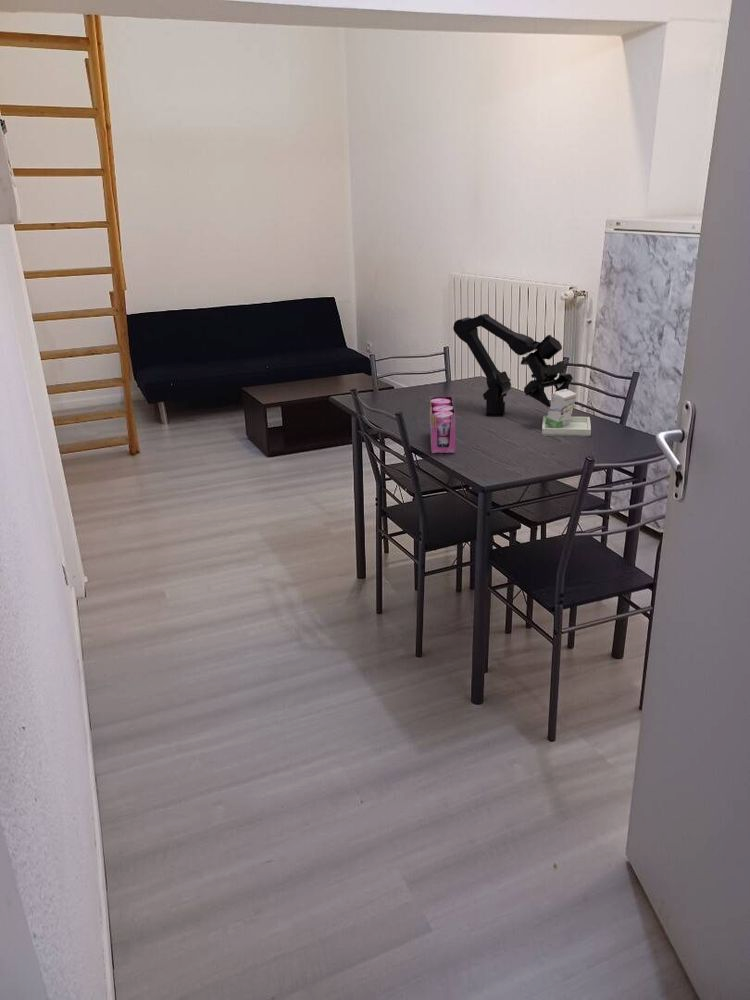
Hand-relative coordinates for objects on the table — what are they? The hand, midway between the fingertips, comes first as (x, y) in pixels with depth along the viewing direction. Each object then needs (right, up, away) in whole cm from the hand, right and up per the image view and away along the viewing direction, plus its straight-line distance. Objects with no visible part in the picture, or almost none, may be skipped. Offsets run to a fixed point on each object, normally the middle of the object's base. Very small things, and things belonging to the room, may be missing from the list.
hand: (559, 404), depth 263 cm
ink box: (0, -7, +3) cm, 7 cm away
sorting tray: (+2, -9, 0) cm, 9 cm away
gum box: (-42, -15, -9) cm, 45 cm away
